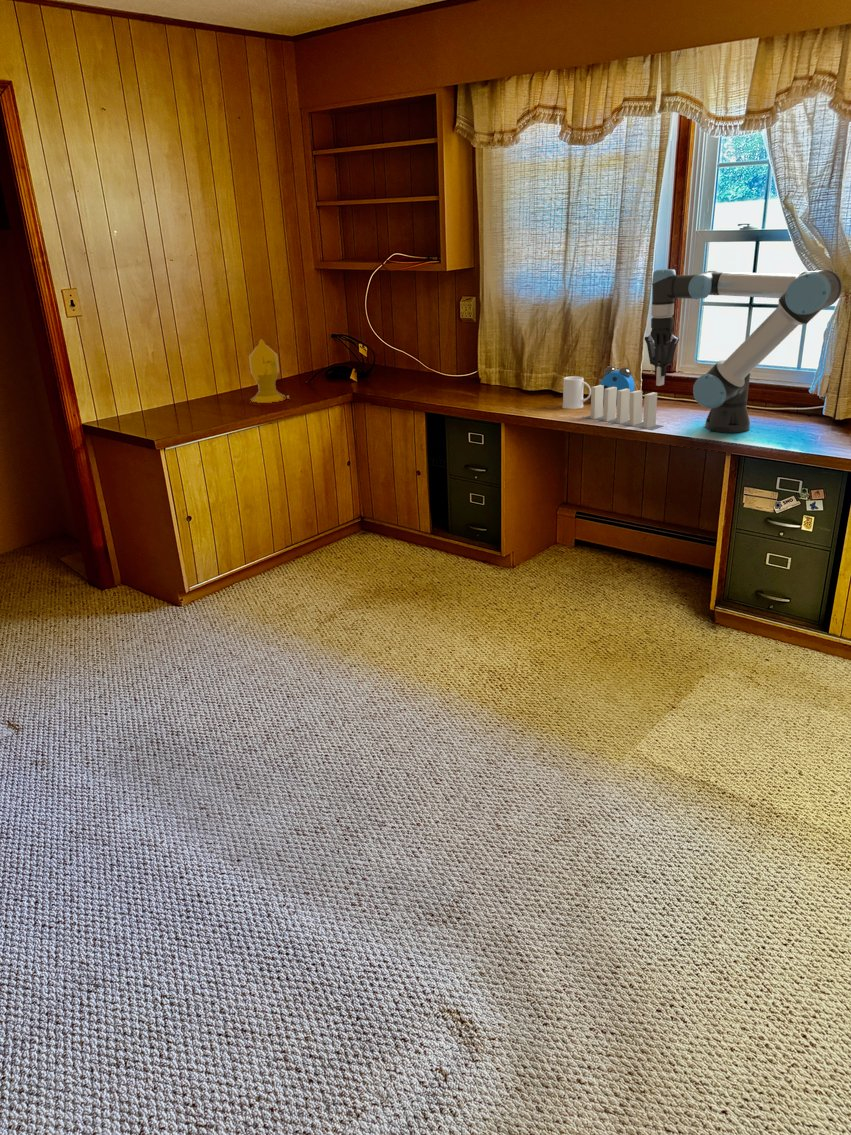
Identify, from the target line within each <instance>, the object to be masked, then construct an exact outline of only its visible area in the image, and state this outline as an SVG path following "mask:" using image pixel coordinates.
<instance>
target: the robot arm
mask: <svg viewBox="0 0 851 1135" xmlns="http://www.w3.org/2000/svg"><path fill="white" fill-rule="evenodd" d="M651 285H652V286H651V287H652V290H651V291H652V293H651V296H652V297H651V313H650V314H651V320H650V322H651V323H650V327H651V331H650V334H649V335H647V336H645V337H644V342H645V343H646V347H647V348H646V349H647V352H648V353H647V354H648V358H649V359H648V360H649V363H650V365H652V366H654V376H656V378H655V379H656V381H655V386H658V387H660V386H664V385H665V377H666V376H667V367H668V366H671V365H672V364H673V360H674V358H675V352H676V348H677V344H679V341H680V337H678V336H675V334H674V325H675V324H674V322H675V321H674V319H675V318H674V314H675V299H684V300H685V299H691V300H692V299H693V300H698V299H706V298H708V296H728V297H729V296H730V297H748V298H767V299H768V298H769V299H778V302H777V303H778V306H777V307H776V308H775V309H774V310H773V311H772V312H771V314H770V315H769V316H767V318H766V319H765V320H764V321H763V322H762V323H761V324H759V326H758V327H757V328H756V329H755V330H753V332H752V333H751V334H750V335H749V336H748V337H747V338H746V339H745V340H744V341H743V342H742V343H741V344H740V345H739V346H738V347H737V348H736V349H735V350H734V351H733V352H732V353H731V354H730V355H729V356H728V357H727V358H726V359H725V360H719V361H717V362H716V363H715V364H714V365H713V366H712V367H711V368H710V369H709V370H708V371H707V373H705V374H702V375H701V376H699V377H698V378H697V379H696V380H695V382H694V384H693V387H692V390H693V391H692V393H693V397H694V399H695V401H696V403H697V404H698V405H700V407H703V408H705V409H710V410H709V413H708V414H707V417H706V420H705V424H704V427H705V428H706V429H707V430H710V431H711V432H718V433H743V432H747V431H749V430H750V425H751V420H750V416H749V412H748V411H749V410H748V408H747V406H748V404H747V403H748V395H749V387H750V377H751V372H752V371H753V370H755V368H756V367H757V366H758V365H759V364H760V363H761V362H763V361H764V359H765V358H767V356H769V355H770V353H772V351H774V350H775V349H776V348H777V347H778V345H780V344H781V343H782V342H783V341H784V340H785V339H786V338H788V336H789V335H790V334H791V333H793V331H794V330H795V329H796V328H797V327H798V326H799V325H801V326H802V325H803V326H804V325H808V323H809V322H810V321H812V319H814V317H816V316H817V315H818V314H819V313H820V312H821V311H822V310H823V309H825V308H828V307H830V306H832V305H833V304H835V302H837V301H838V299H839V298H840V296H841V294H842V291H843V282H842V279H841V277H840V276H839V274H838V273H837V272H835V271H833V270H829V269H819V270H813V271H812V270H811V271H807V270H805V271H804V270H803V271H801V272H800V273H799V274H798V273H797V274H796V273H795V274H792V273H765V272H763V273H758V272H732V271H731V272H721V271H716V270H708V271H706V272H705V271H704V272H700V273H696V274H695V273H694V274H685V275H679V274H677V273H676V269H673V268H664V269H663V268H662V269H655V270H654V271H653V274H652V282H651Z"/></svg>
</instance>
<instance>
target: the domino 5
mask: <svg viewBox="0 0 851 1135" xmlns="http://www.w3.org/2000/svg"><path fill="white" fill-rule="evenodd" d="M643 404H644V405H643V417H642V422H643V428H649V427H652V426H655V425H657V424H656V423H657V422H656V420H657V406H658V392H653V391H652V392H650V393H647V394H646V393H645V394H644V403H643Z"/></svg>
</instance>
